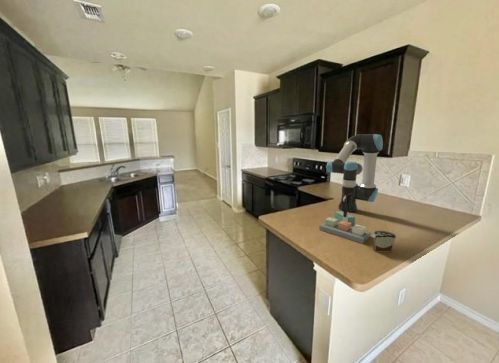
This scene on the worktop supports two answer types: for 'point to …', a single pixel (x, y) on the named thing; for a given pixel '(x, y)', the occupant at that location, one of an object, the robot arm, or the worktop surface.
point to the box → (340, 217)
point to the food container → (383, 241)
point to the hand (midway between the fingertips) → (344, 221)
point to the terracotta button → (344, 226)
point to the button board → (345, 233)
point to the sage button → (331, 222)
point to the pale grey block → (359, 230)
